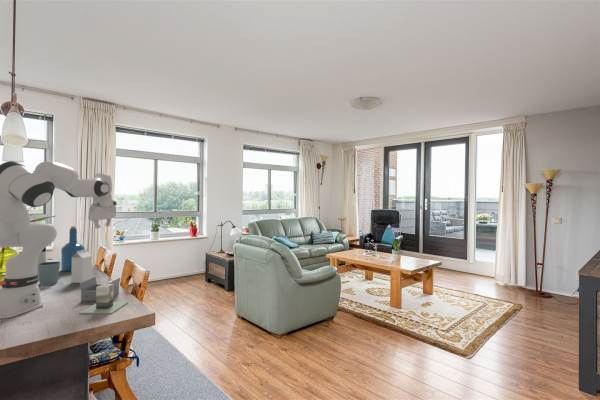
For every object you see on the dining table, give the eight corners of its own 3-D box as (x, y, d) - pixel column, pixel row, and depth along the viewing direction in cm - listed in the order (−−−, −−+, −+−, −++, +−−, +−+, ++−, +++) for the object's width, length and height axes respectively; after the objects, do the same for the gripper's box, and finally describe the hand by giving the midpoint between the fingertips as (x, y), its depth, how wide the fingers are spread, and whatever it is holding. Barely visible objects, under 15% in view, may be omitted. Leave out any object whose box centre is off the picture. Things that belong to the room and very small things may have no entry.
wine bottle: (88, 269, 221) (88, 226, 221) (66, 273, 210) (66, 227, 210) (78, 266, 229) (79, 225, 228) (57, 270, 217) (57, 226, 217)
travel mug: (44, 276, 201) (44, 244, 200) (47, 278, 196) (47, 246, 196) (31, 278, 196) (31, 246, 196) (34, 280, 192) (34, 247, 191)
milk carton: (91, 280, 193) (91, 249, 193) (82, 283, 186) (82, 251, 186) (80, 279, 194) (81, 248, 194) (71, 283, 187) (71, 250, 187)
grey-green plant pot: (33, 285, 180) (33, 264, 180) (46, 280, 191) (47, 261, 190) (51, 285, 181) (51, 264, 181) (64, 281, 191) (64, 261, 191)
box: (107, 309, 144) (107, 287, 144) (96, 309, 144) (96, 287, 144) (113, 305, 149) (113, 284, 149) (102, 305, 149) (102, 284, 149)
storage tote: (107, 301, 157) (107, 283, 157) (79, 301, 156) (79, 282, 156) (120, 293, 169) (120, 276, 169) (94, 293, 168) (94, 276, 168)
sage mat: (111, 314, 140) (111, 312, 140) (79, 313, 140) (79, 312, 140) (127, 303, 154) (127, 302, 154) (98, 303, 154) (98, 301, 154)
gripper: (97, 203, 167) (96, 229, 168) (118, 202, 188) (118, 225, 188) (85, 203, 167) (84, 229, 168) (107, 202, 188) (107, 225, 188)
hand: (102, 227), depth 178 cm, fingers open, 8 cm apart
